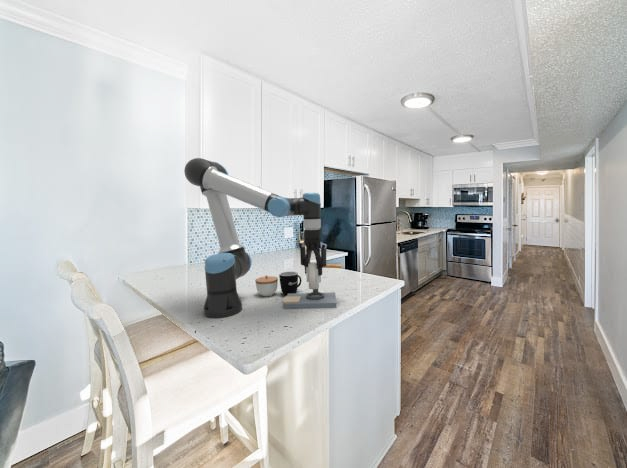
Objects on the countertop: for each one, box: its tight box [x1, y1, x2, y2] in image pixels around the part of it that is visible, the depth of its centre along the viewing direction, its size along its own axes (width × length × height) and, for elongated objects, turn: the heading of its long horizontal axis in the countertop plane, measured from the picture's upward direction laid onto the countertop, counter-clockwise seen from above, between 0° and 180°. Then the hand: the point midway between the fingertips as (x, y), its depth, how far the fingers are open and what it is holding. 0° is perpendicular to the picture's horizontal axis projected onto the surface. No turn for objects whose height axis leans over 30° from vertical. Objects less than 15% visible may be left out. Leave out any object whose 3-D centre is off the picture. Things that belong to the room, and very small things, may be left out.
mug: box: [278, 271, 302, 297], centre depth 134 cm, size 12×9×10 cm
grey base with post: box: [282, 288, 337, 310], centre depth 120 cm, size 22×14×14 cm, turn 87°
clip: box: [322, 263, 343, 269], centre depth 123 cm, size 14×3×1 cm, turn 69°
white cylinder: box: [308, 261, 320, 290], centre depth 120 cm, size 4×4×11 cm
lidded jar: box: [255, 274, 279, 297], centre depth 134 cm, size 11×11×9 cm
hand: (313, 281), depth 121 cm, fingers closed on white cylinder, 4 cm apart
